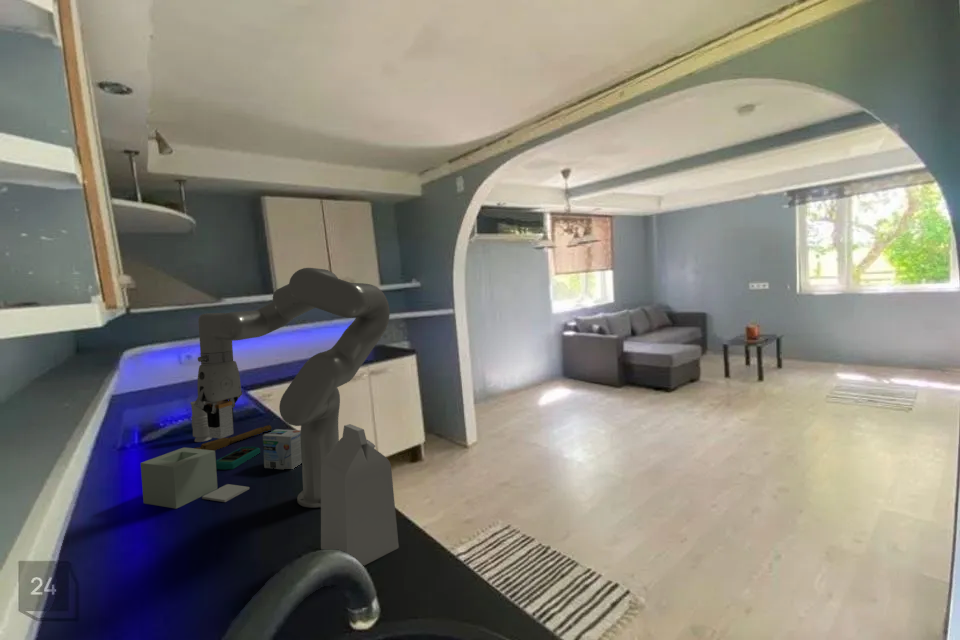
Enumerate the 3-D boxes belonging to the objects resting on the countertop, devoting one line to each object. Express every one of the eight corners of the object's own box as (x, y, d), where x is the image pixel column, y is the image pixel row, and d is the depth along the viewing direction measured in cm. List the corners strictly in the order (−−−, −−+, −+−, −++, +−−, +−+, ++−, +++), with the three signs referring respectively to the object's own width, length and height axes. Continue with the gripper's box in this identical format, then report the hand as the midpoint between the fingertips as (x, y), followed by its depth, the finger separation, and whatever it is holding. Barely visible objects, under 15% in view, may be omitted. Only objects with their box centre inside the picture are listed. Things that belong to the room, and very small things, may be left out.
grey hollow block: (217, 488, 123) (215, 450, 122) (176, 508, 111) (173, 467, 111) (186, 484, 126) (183, 447, 126) (143, 503, 115) (140, 462, 114)
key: (220, 438, 116) (218, 404, 115) (208, 437, 117) (206, 404, 116) (234, 433, 120) (232, 401, 119) (222, 432, 121) (220, 400, 120)
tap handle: (272, 425, 175) (194, 448, 149) (272, 432, 176) (195, 457, 149) (267, 424, 177) (189, 447, 150) (267, 431, 177) (190, 456, 151)
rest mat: (249, 489, 122) (249, 486, 122) (224, 502, 114) (224, 499, 114) (227, 486, 124) (227, 484, 124) (202, 498, 117) (202, 496, 117)
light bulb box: (263, 468, 137) (261, 435, 136) (278, 460, 143) (276, 428, 143) (292, 470, 134) (290, 436, 134) (306, 462, 141) (304, 429, 140)
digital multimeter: (261, 454, 151) (261, 445, 151) (232, 471, 136) (231, 462, 136) (242, 453, 152) (242, 445, 152) (211, 470, 137) (210, 461, 137)
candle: (217, 438, 169) (214, 400, 168) (198, 443, 163) (195, 404, 162) (208, 435, 173) (205, 398, 172) (189, 440, 167) (186, 402, 166)
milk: (320, 548, 91) (314, 428, 90) (369, 527, 99) (364, 416, 98) (348, 573, 83) (341, 440, 81) (398, 547, 91) (393, 426, 89)
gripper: (199, 363, 108) (203, 435, 109) (252, 354, 124) (256, 417, 125) (177, 362, 110) (181, 433, 111) (232, 353, 126) (236, 415, 127)
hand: (221, 423), depth 118 cm, fingers closed on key, 4 cm apart
